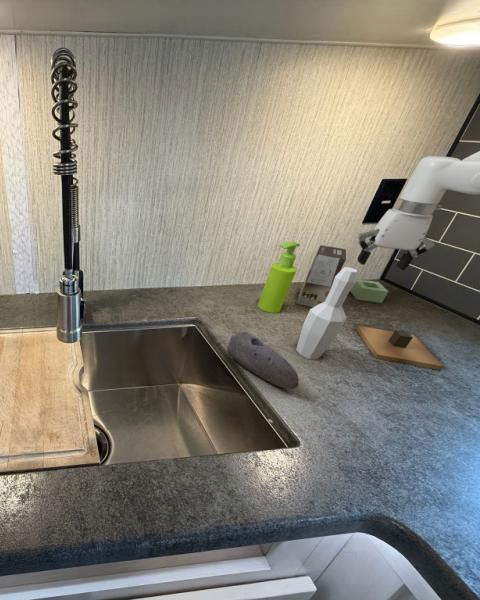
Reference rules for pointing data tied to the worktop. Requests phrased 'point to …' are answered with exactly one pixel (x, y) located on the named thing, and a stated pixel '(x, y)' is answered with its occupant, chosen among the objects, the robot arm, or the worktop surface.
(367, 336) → the base pad
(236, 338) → the perforated stone tool
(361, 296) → the sage block
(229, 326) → the worktop surface
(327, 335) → the faceted bottle
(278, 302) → the soap dispenser
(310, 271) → the coffee box
